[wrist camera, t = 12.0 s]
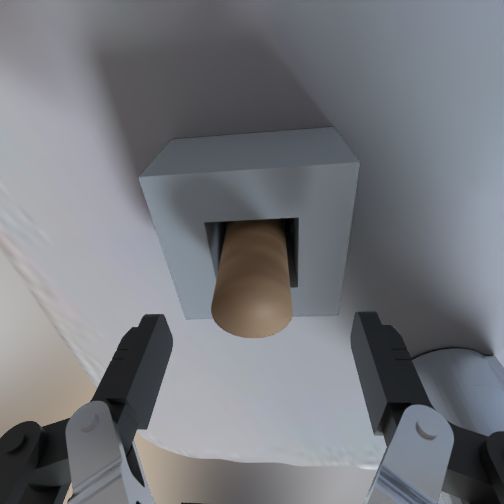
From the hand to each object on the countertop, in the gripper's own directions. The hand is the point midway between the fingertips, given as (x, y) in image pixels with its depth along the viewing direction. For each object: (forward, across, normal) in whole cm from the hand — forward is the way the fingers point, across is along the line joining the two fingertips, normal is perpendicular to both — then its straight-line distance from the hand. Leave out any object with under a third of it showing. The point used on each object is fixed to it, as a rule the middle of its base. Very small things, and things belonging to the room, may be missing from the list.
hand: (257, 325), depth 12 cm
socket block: (+11, 0, 0) cm, 11 cm away
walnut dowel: (+11, 0, 0) cm, 11 cm away
